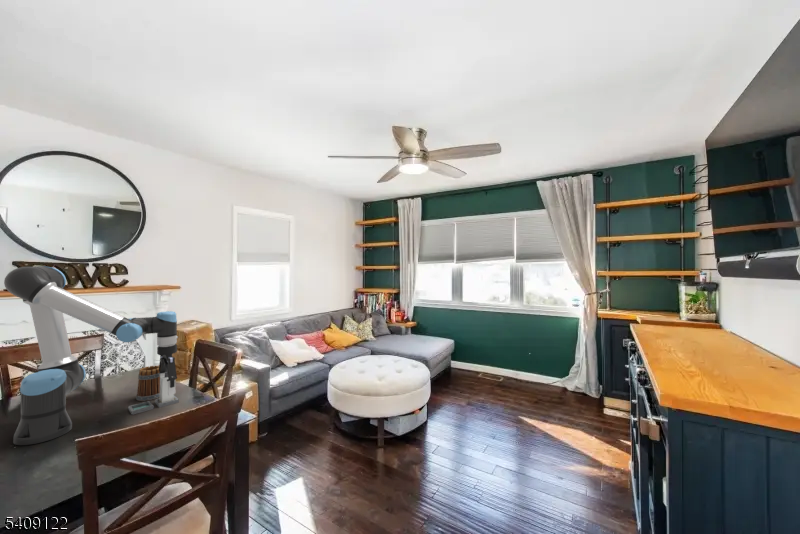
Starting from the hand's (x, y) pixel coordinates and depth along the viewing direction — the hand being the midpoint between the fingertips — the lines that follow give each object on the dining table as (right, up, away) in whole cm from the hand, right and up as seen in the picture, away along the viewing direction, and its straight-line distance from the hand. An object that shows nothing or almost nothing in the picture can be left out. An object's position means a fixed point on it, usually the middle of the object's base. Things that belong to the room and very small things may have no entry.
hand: (167, 390), depth 153 cm
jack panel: (-4, -7, -4) cm, 8 cm away
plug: (0, -6, 0) cm, 6 cm away
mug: (-13, -7, +9) cm, 17 cm away
